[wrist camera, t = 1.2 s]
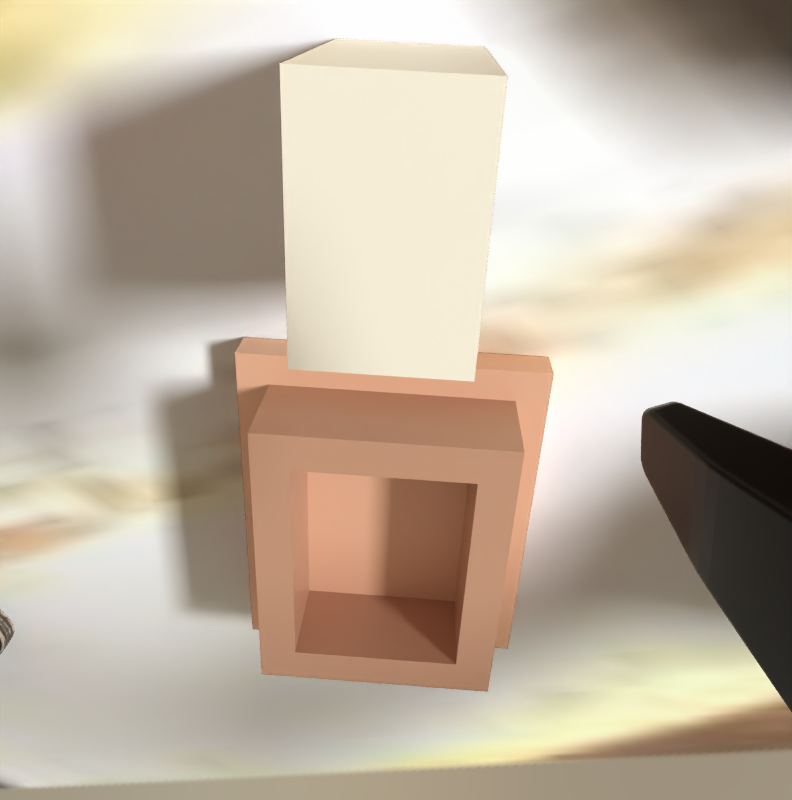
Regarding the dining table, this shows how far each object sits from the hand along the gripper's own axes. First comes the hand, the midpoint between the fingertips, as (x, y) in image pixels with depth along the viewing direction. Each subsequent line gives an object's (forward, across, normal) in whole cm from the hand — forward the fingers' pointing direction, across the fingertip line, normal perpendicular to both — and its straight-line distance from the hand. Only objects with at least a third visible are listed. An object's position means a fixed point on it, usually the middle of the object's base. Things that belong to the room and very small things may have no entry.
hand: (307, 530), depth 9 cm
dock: (+13, -1, +12) cm, 18 cm away
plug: (+14, -4, +1) cm, 15 cm away
